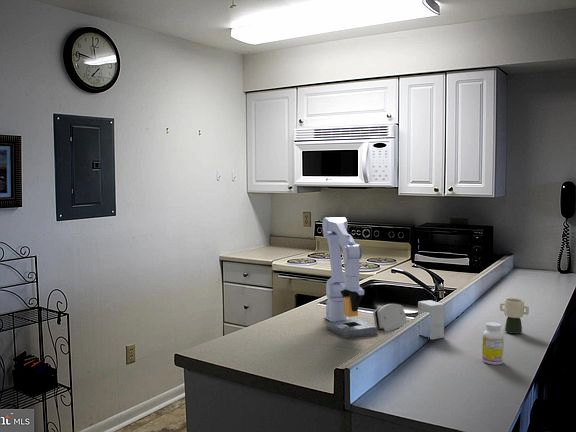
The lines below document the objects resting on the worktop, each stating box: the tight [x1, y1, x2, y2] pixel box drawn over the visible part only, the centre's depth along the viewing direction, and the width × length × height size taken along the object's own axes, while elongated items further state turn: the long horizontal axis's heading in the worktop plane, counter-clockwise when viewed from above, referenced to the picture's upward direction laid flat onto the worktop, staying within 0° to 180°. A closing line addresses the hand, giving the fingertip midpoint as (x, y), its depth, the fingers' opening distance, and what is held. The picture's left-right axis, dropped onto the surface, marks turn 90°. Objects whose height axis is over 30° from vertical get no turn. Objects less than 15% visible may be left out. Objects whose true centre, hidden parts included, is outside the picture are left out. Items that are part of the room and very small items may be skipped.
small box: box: [417, 299, 445, 340], centre depth 212 cm, size 8×6×13 cm
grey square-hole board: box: [327, 317, 378, 340], centre depth 218 cm, size 14×14×3 cm
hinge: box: [372, 303, 410, 332], centre depth 226 cm, size 17×5×10 cm, turn 131°
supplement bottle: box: [481, 321, 505, 366], centre depth 183 cm, size 7×7×13 cm
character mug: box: [499, 297, 530, 334], centre depth 216 cm, size 11×7×13 cm, turn 52°
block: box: [344, 296, 359, 318], centre depth 217 cm, size 4×4×7 cm
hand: (351, 309), depth 217 cm, fingers closed on block, 4 cm apart
